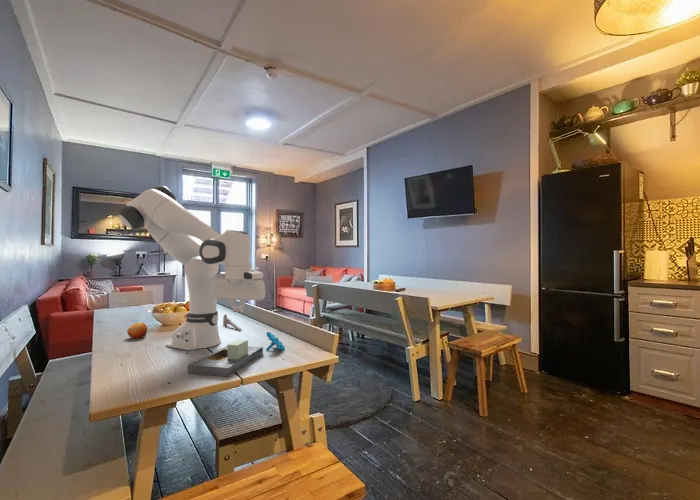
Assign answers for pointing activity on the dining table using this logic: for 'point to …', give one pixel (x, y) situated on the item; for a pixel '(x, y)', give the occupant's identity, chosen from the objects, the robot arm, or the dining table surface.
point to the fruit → (137, 330)
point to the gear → (274, 341)
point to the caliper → (230, 323)
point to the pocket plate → (223, 362)
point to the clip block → (237, 349)
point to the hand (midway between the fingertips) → (238, 311)
